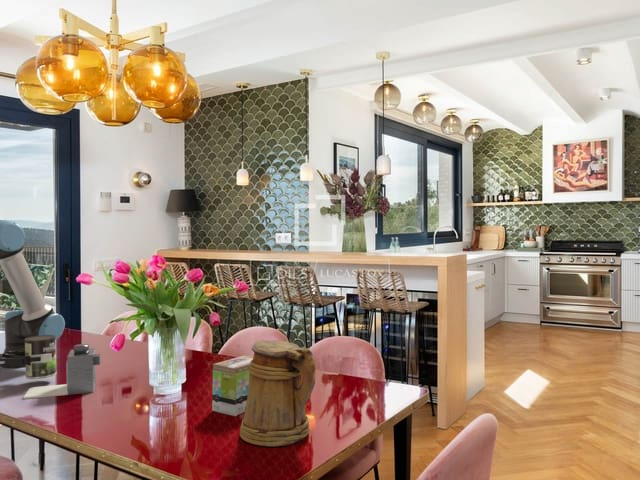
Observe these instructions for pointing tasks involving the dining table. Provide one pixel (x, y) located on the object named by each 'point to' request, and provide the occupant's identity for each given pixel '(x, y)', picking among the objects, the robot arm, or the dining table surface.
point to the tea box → (231, 385)
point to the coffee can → (37, 347)
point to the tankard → (278, 394)
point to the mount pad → (46, 391)
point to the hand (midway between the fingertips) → (53, 354)
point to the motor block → (81, 369)
